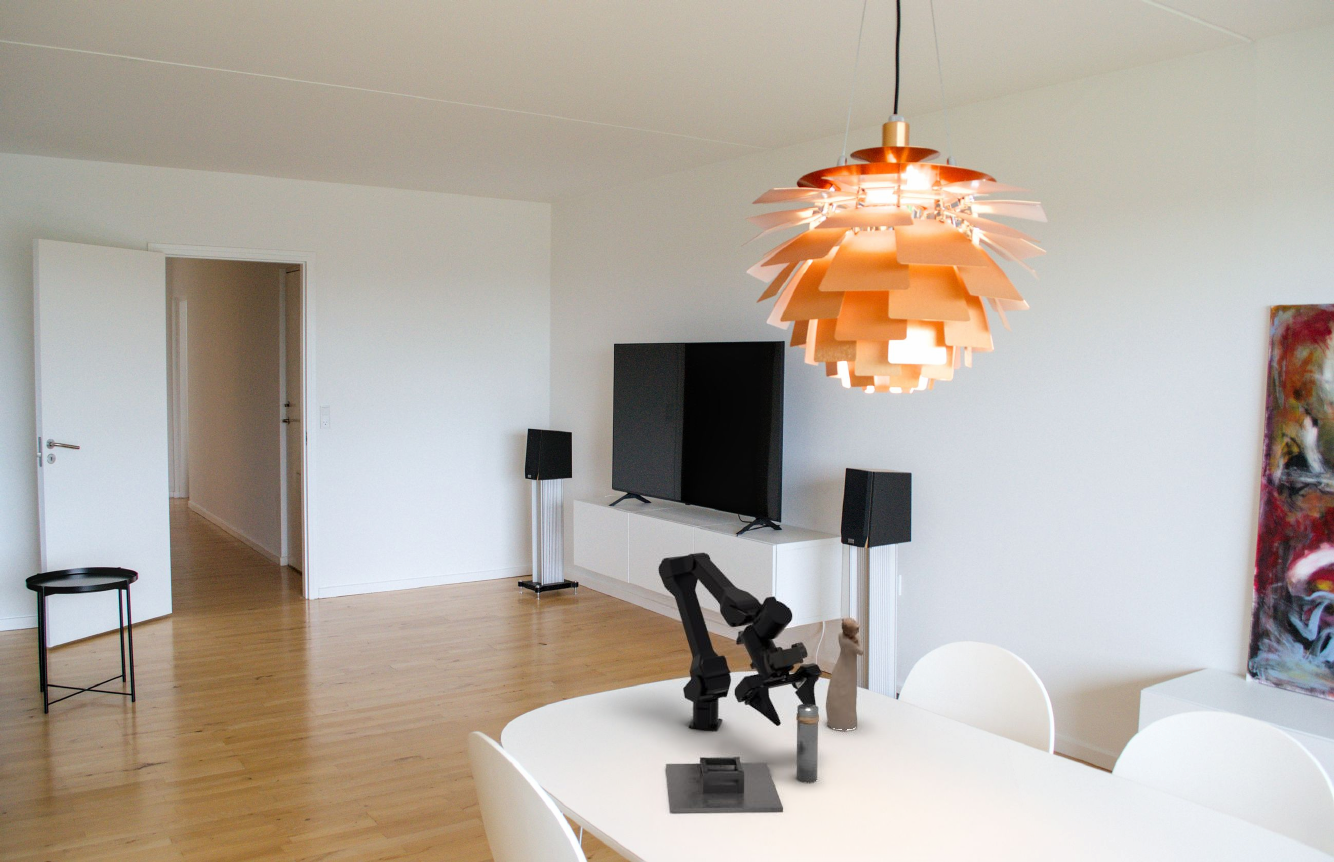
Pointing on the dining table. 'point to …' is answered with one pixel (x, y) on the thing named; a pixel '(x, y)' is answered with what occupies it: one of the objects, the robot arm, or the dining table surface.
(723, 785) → the collar stand
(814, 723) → the grey metal cylinder
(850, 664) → the figurine
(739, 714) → the dining table surface
